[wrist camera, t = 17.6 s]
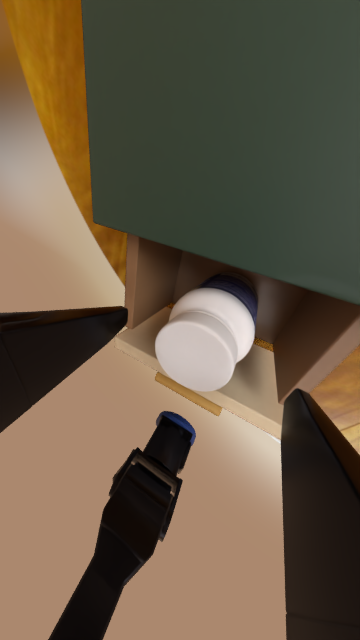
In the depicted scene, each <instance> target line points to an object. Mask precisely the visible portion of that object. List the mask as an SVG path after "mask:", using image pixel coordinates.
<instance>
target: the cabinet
mask: <svg viewBox="0 0 360 640" xmlns="http://www.w3.org/2000/svg"><path fill="white" fill-rule="evenodd" d="M81 5H82V23H83V41H84V60H85V78H86V96H87V114H88V133H89V151H90V169H91V188H92V206H93V221H94V223H96V224H99V225H103V226H106V227H109V228H112V229H115V230H119V231H122V232H125V233H128V234H131V235H135V236H138V237H141V238H144V239H147V240H151V241H154V242H157V243H160V244H164V245H167V246H170V247H173V248H176V249H180V250H183V251H186V252H189V253H192V254H196V255H199V256H202V257H205V258H208V259H212V260H215V261H218V262H221V263H224V264H228V265H231V266H234V267H237V268H240V269H244V270H247V271H250V272H253V273H257V274H260V275H263V276H266V277H269V278H273V279H276V280H279V281H282V282H285V283H289V284H292V285H295V286H298V287H301V288H305V289H308V290H311V291H314V292H317V293H321V294H324V295H327V296H330V297H333V298H337V299H340V300H343V301H346V302H350V303H353V304H356V305H359V306H360V0H81Z"/></svg>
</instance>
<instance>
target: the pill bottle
mask: <svg viewBox="0 0 360 640" xmlns="http://www.w3.org/2000/svg"><path fill="white" fill-rule="evenodd" d="M257 309H258V296H257V292H256V290H255V288H254V286H253V285H252V283H251V282H250V281H249V280H248V279H246V278H245V277H244V276H242V275H240V274H237V273H233V272H222V273H217V274H215V275H213V276H211V277H209V278H208V279H206V280H205V281H204V282H202V283H201V284H199V285H198V286H196V287H195V288H194V289H192V290H191V291H189V292H188V293H186V294H185V295H184V296H183V297H181V298H180V299H179V300H178V302H177V303H176V304H175V305H174V307H173V309H172V311H171V314H170V317H169V322H168V323H167V324H166V325H165V326H164V327H163V328H162V329H161V330H160V331H159V333H158V335H157V337H156V340H155V352H156V356H157V359H158V361H159V363H160V365H161V367H162V368H163V369H164V371H165V372H166V373H167V374H168V375H169V376H170V377H171V378H172V379H173V380H175V381H176V382H177V383H179V384H181V385H183V386H185V387H187V388H190V389H192V390H196V391H202V392H207V391H214V390H217V389H220V388H222V387H223V386H224V385H226V384H227V383H228V382H229V380H230V379H231V377H232V374H233V372H234V368H235V365H236V363H237V362H239V361H240V360H242V359H243V358H244V357H245V356H246V355H247V353H248V352H249V350H250V349H251V346H252V344H253V340H254V336H255V328H256V319H257Z"/></svg>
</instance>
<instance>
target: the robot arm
mask: <svg viewBox="0 0 360 640" xmlns="http://www.w3.org/2000/svg"><path fill="white" fill-rule="evenodd" d="M127 322H128V309H127V308H125V307H122V306H116V307H99V308H84V309H69V310H54V311H38V312H16V313H15V312H13V313H0V433H1V432H2V431H3V430H4V429H5V428H7V427H8V426H9V425H10V424H12V423H13V422H14V421H15V420H16V419H18V418H19V417H20V416H21V415H22V414H23V413H24V412H26V411H27V410H28V409H30V408H31V407H32V405H34V404H35V403H37V402H38V401H39V400H40V399H41V398H42V397H44V396H45V395H46V394H47V393H48V392H50V391H51V390H52V389H53V388H55V387H56V386H57V385H58V384H59V383H61V382H62V381H63V380H64V379H65V378H67V377H68V376H69V375H70V374H71V373H73V372H74V371H75V370H76V369H77V368H79V367H80V366H81V365H82V364H83V363H85V362H86V361H87V360H88V359H89V358H91V357H92V356H93V355H94V354H95V353H97V352H98V351H99V350H100V349H101V348H102V347H104V346H105V345H106V344H107V343H108V342H109V341H111V339H113V338H114V337H115V335H116V334H117V333H118V332H119V331H120V330H121V329H122V328H123V327H124V326H125V325H126V324H127ZM192 436H193V434H192V433H191V432H190V431H188V430H187V429H185V428H183V427H182V426H180V425H179V424H177V423H175V422H174V421H172V420H171V419H169V418H168V417H166V416H164V415H162V416H161V418H160V421H159V424H158V426H157V428H156V430H155V431H154V433H153V435H152V437H151V438H150V440H149V442H148V444H147V445H146V447H145V449H144V451H143V452H142V451H141V450H140V449H139V448H138V447H137V448H136V450H134V449H133V451H132V452H131V454H130V455H129V457H128V459H127V460H126V461H125V463H124V464H123V465H122V466H121V468H120V469H119V470H118V471H117V473H116V474H115V475H114V477H113V484H112V487H111V490H110V492H109V496H110V499H109V501H108V503H107V504H106V506H105V508H104V510H103V514H102V519H101V524H100V528H99V533H98V538H97V543H96V548H95V553H94V556H93V558H92V560H91V562H90V564H89V566H88V567H87V569H86V571H85V573H84V575H83V576H82V578H81V580H80V582H79V584H78V586H77V588H76V590H75V591H74V593H73V595H72V597H71V599H70V601H69V603H68V604H67V606H66V608H65V610H64V612H63V613H62V615H61V617H60V619H59V621H58V623H57V624H56V626H55V628H54V630H53V632H52V634H51V636H50V638H49V639H48V640H103V637H104V635H105V632H106V630H107V627H108V625H109V622H110V620H111V617H112V615H113V612H114V610H115V607H116V605H117V602H118V600H119V597H120V595H121V592H122V590H123V588H124V586H125V585H126V584H127V583H128V582H129V580H130V579H131V578H132V577H133V576H134V575H135V574H136V573H137V572H138V570H139V569H140V568H141V567H142V566H143V565H144V564H145V563H146V562H147V561H148V560H149V558H150V557H151V556H152V555H153V553H154V550H155V547H156V544H157V542H158V539H159V540H160V541H161V542H162V541H163V539H164V537H165V535H166V532H167V530H168V527H169V524H170V521H171V518H172V515H173V512H174V508H175V505H176V502H177V498H178V495H179V492H180V488H181V485H182V479H179V478H178V477H176V476H177V473H178V474H179V473H181V471H182V469H183V468H184V465H185V462H186V459H187V456H188V453H189V450H190V447H191V445H192V444H191V442H190V440H191V438H192ZM281 463H282V496H283V529H284V530H283V531H284V564H285V598H286V612H287V614H286V637H287V638H286V639H287V640H360V455H359V454H358V453H357V451H356V450H355V449H354V448H353V447H352V445H351V444H350V443H349V442H348V440H347V439H346V438H345V437H344V436H343V434H342V433H341V432H340V431H339V430H338V428H337V427H336V426H335V425H334V423H333V422H332V421H331V420H330V419H329V417H328V416H327V415H326V414H325V413H324V411H323V410H322V409H321V408H320V406H319V405H318V404H317V403H316V402H315V400H314V399H313V398H312V397H311V396H310V394H309V393H308V392H306V391H303V390H301V389H299V388H296V389H294V390H293V391H292V392H291V393H290V395H289V396H288V397H287V398H286V399H285V401H284V407H283V418H282V429H281ZM171 491H172V493H171V494H170V492H171Z"/></svg>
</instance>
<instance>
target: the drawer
mask: <svg viewBox="0 0 360 640" xmlns="http://www.w3.org/2000/svg"><path fill="white" fill-rule="evenodd" d="M222 272H233V273H237V274H240V275H242V276H244V277H245V278H246V279H248V280H249V281H250V282H251V283H252V285H253V286H254V288H255V290H256V292H257V296H258V309H257V319H256V328H255V336H254V337H257V338H259V339H261V340H264V341H266V342H269V343H271V344H273V352H271V351H269V350H267V349H264V348H262V347H260V346H257V345H255V344H252V346H251V349H250V350H249V352H248V353H247V355H246V356H245V357H244V358H243V359H242V360H240V361H239V362H237V363H236V365H235V368H234V372H233V374H232V377H231V379H230V380H229V382H228V383H227V384H226V385H224V386H223V387H222V388H220V389H217V390H214V391H207V392H202V391H196V390H192V389H190V388H187V387H185V386H183V385H181V384H179V383H177V382H176V381H175V380H173V379H172V378H171V377H170V376H169V375H168V374H167V373H166V372H165V371H164V369H163V368H162V367H161V365H160V363H159V361H158V359H157V356H156V352H155V340H156V337H157V335H158V333H159V331H160V330H161V329H162V328H163V327H164V326H165V325H166V324H167V323H168V322H169V317H170V314H171V311H172V309H171V308H168V307H166V306H168V305H169V304H171V303H175V304H176V303H177V302H178V300H179V299H180V298H181V297H183V296H184V295H185V294H186V293H188V292H189V291H191V290H192V289H194V288H195V287H196V286H198V285H199V284H201V283H202V282H204V281H205V280H206V279H208V278H209V277H211V276H213V275H215V274H217V273H222ZM125 308H127V309H128V322H127V324H126V325H125V326H126V327H128V329H126V330H125V331H123V332H121V333H120V334H118V335H117V336H116V337H115V348H117V349H118V350H120V351H122V352H124V353H126V354H127V355H129V356H131V357H133V358H134V359H136V360H138V361H140V362H142V363H143V364H145V365H147V366H149V367H151V368H152V369H154V370H156V371H158V372H157V374H156V377H155V380H156V381H157V382H159V383H161V384H163V385H164V386H166V387H168V388H169V389H171V390H173V391H175V392H176V393H178V394H180V395H182V396H183V397H185V398H187V399H188V400H190V401H192V402H194V403H195V404H197V405H199V406H201V407H202V408H204V409H206V410H208V411H209V412H211V413H213V414H214V415H216V416H219V415H220V413H221V410H222V408H224V409H226V410H228V411H230V412H231V413H233V414H235V415H237V416H238V417H241V418H242V419H244V420H246V421H247V422H249V423H251V424H253V425H255V426H256V427H258V428H260V429H262V430H264V431H265V432H267V433H269V434H271V435H273V436H274V437H276V438H278V439H280V440H281V429H282V418H283V407H284V401H285V399H286V398H287V397H288V396H289V395H290V393H291V392H292V391H293V390H294V389H296V388H299V389H301V390H303V391H306V392H308V393H310V392H311V391H312V390H313V389H314V388H315V387H316V386H318V385H319V384H320V383H321V382H322V381H323V380H324V379H325V378H326V377H327V376H328V375H329V374H330V373H331V372H332V371H333V370H334V369H335V368H336V367H337V366H338V365H339V364H340V363H342V362H343V361H344V360H345V359H346V358H347V357H348V356H349V355H350V354H351V353H352V352H353V351H354V350H355V349H356V348H357V347H358V346H359V345H360V306H359V305H356V304H353V303H350V302H346V301H343V300H340V299H337V298H333V297H330V296H327V295H324V294H321V293H317V292H314V291H311V290H308V289H305V288H301V287H298V286H295V285H292V284H289V283H285V282H282V281H279V280H276V279H273V278H269V277H266V276H263V275H260V274H257V273H253V272H250V271H247V270H244V269H240V268H237V267H234V266H231V265H228V264H224V263H221V262H218V261H215V260H212V259H208V258H205V257H202V256H199V255H196V254H192V253H189V252H186V251H183V250H180V249H176V248H173V247H170V246H167V245H164V244H160V243H157V242H154V241H151V240H147V239H144V238H141V237H138V236H135V235H131V234H128V237H127V261H126V285H125Z"/></svg>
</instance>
